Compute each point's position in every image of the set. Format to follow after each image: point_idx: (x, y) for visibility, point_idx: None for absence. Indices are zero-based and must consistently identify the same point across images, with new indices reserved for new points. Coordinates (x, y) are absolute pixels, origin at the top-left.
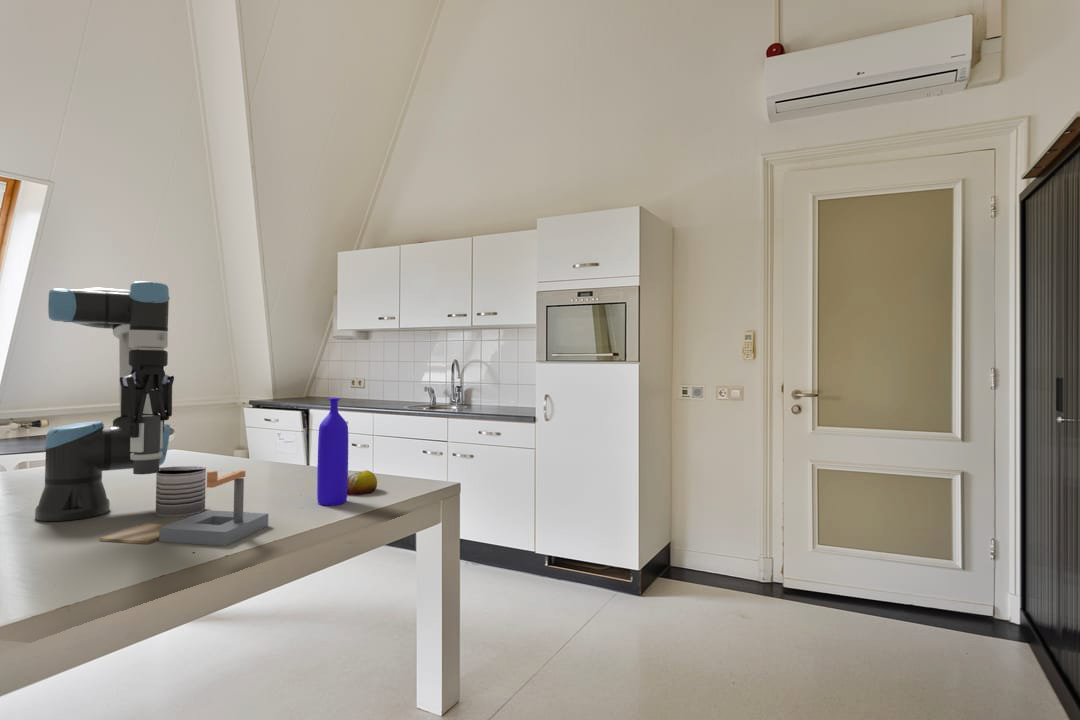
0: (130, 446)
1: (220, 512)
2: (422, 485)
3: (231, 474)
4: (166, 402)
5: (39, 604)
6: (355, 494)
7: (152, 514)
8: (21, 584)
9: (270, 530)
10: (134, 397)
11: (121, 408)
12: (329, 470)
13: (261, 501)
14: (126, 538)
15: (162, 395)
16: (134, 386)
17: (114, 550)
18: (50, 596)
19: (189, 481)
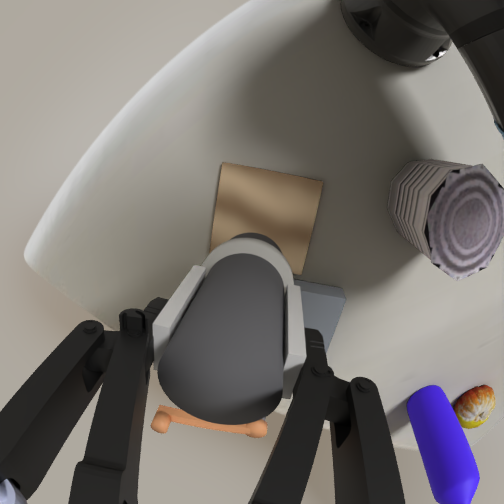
0: (188, 273)
1: (325, 325)
2: (467, 438)
3: (225, 428)
4: (338, 470)
5: (39, 257)
6: (455, 404)
7: (405, 157)
8: (63, 199)
9: None
10: (55, 446)
11: (50, 357)
12: (419, 441)
13: (464, 309)
14: (221, 212)
15: (354, 496)
16: (26, 491)
17: (175, 222)
18: (50, 254)
19: (424, 253)
